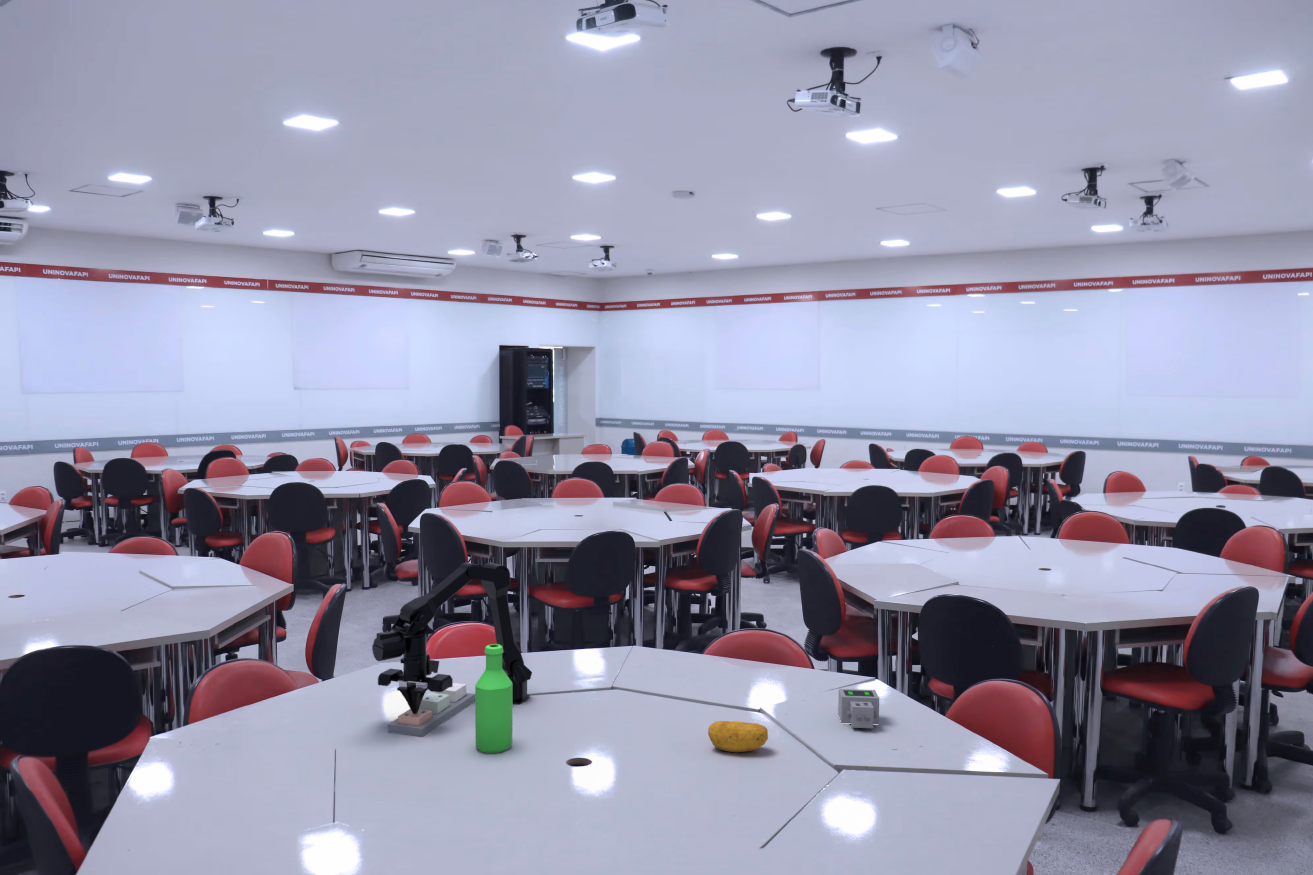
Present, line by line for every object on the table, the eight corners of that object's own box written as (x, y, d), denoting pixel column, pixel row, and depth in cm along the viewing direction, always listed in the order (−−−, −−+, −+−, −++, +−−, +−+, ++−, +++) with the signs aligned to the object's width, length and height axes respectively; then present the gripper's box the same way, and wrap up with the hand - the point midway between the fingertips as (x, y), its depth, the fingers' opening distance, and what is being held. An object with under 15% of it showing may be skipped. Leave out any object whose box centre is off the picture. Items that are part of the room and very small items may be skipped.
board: (475, 700, 241) (475, 693, 241) (422, 736, 215) (422, 728, 215) (443, 697, 243) (443, 690, 243) (387, 731, 218) (387, 724, 218)
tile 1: (466, 694, 240) (466, 683, 240) (455, 702, 234) (455, 690, 234) (447, 692, 241) (447, 681, 241) (435, 699, 236) (435, 688, 235)
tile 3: (431, 721, 222) (431, 710, 222) (418, 730, 217) (418, 718, 217) (411, 719, 224) (411, 707, 224) (398, 727, 218) (398, 715, 218)
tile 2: (449, 705, 231) (449, 694, 231) (437, 713, 225) (437, 701, 225) (429, 703, 233) (429, 692, 233) (417, 710, 227) (417, 699, 227)
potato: (767, 759, 203) (767, 729, 203) (706, 754, 205) (706, 725, 205) (768, 747, 210) (768, 718, 210) (709, 742, 212) (709, 714, 212)
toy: (844, 703, 220) (836, 684, 235) (844, 732, 220) (836, 711, 235) (883, 704, 219) (872, 685, 234) (882, 734, 219) (872, 713, 234)
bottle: (468, 750, 207) (467, 647, 206) (491, 737, 214) (490, 638, 213) (497, 757, 203) (497, 652, 202) (519, 744, 210) (519, 643, 209)
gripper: (463, 647, 225) (463, 706, 225) (401, 641, 230) (401, 698, 231) (441, 659, 214) (441, 721, 215) (376, 653, 219) (376, 713, 220)
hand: (415, 712), depth 220 cm, fingers closed, pressing on tile 3
